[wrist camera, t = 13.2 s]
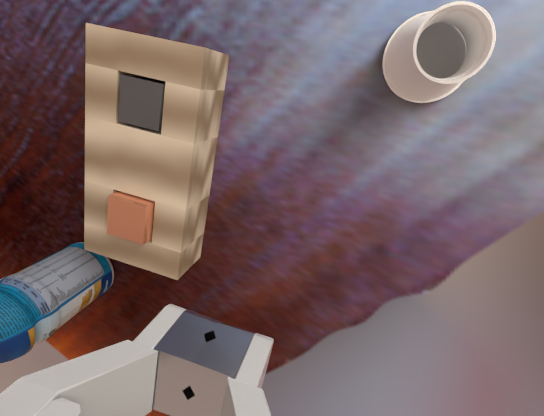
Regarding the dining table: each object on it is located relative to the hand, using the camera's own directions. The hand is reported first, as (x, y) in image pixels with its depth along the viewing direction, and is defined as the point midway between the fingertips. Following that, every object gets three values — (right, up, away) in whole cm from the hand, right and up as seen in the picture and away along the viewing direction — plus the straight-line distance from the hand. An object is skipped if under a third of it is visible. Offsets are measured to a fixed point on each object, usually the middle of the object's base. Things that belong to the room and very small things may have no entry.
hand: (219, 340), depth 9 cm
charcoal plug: (-10, +15, +29) cm, 34 cm away
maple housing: (-11, +10, +31) cm, 34 cm away
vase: (+15, +17, +22) cm, 32 cm away
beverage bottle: (-24, -5, +39) cm, 47 cm away
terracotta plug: (-13, +4, +32) cm, 34 cm away
